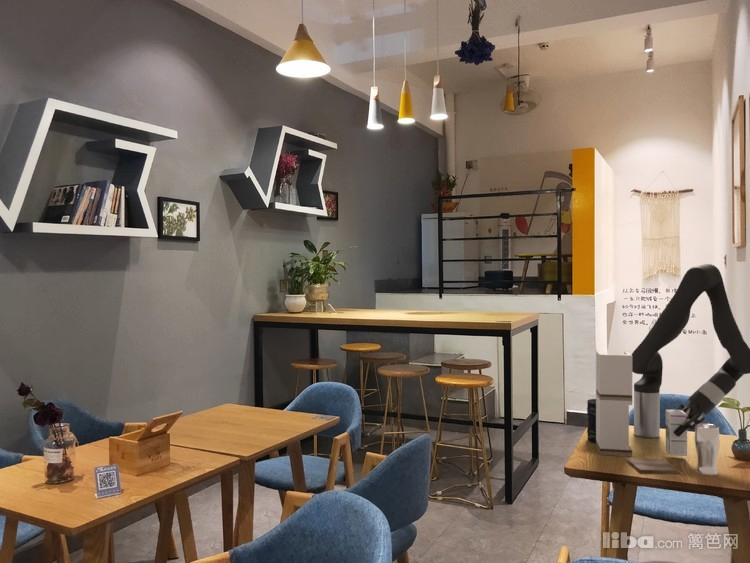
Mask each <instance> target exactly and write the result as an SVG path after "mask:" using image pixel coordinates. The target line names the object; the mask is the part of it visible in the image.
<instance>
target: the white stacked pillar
mask: <svg viewBox="0 0 750 563" xmlns="http://www.w3.org/2000/svg"><path fill="white" fill-rule="evenodd" d="M631 354H632V353H630V352H628V351H624V352H623V354H606V353H602V352H601V351H600V350H596V351H595V359H596V360H595V399H596V443H595V446H596V448H597V450H598V453H599V455H604V456H605V455H606V456H607V455H608V456H623V457H633V449H632V448H631V446H630V435H629V434H630V418H629V417H630V406H633V372H632V355H631Z"/></svg>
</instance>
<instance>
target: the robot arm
mask: <svg viewBox="0 0 750 563" xmlns="http://www.w3.org/2000/svg"><path fill="white" fill-rule="evenodd" d="M703 293H706V295H707V298H708V299H709V301H710V302H709V303H710V306H711V316H712V318H711V319H712V325H713V329H714V331H715V334H716V336H717V339H718V341H719V343H720V345H721V346H722V348H723V349H725V350H726V352H727V353H728V355H729V357H728V358H727V360H726V361H725V362H724V363H723V364H722V366H721V367H720V368H719V369H718V371H717V372H715V373H714V374H713V375H712V376H710V378H709V379H708V380H707V381H706V382H704V383H703V384H702V385H701V386H700V387H699V388H698V389H696V391H695V392H693V393H692V394H691V395H690V396H689V398H687V401H688V402H689V403H688V404H687V405H684V404H683V403H681V404H680V405H678V407H677V408H676V409H675V410H682V411H684V412H685V413H686V414H687V417H686V418H685V420H684V421H683V423H682V425H680V426H679V427H678V428H677V429H676V430H675V431H674V432H673V433H674V434H675V435H676V436H678V437H679V436H680V435H681V434H682V433H683V432H684V431H685V430H686V429H687V431H689V430H690V431H692V430H694V429H695V426H696V424H698V423H703V421H704V420H705V419H706V418H705V416H706V415H709V414H710V412H711V411H713V410H714V409H715V408H716V407H717V406H718V404H720V403H721V402H722V401H723V400H724V398H725V397H726V396H727V395H728V394H729V393H730V392H731V391H732V390H733V389H734V388H735V386H736V384H737V382H738V381H739V380H740V379H741V378H742V377H743V376H745V375H747V374H750V346H748V344H747V342H746V341H745V339H744V337H743V335H742V332H741V330H740V328H739V326H738V324H737V322H736V319H735V317H734V314H733V311H732V309H731V306H730V302H729V299H728V295H727V291H726V288H725V283H724V279H723V276H722V274H721V271H720V269H719V268H718V267H717V266H716V265H714V264H711V263H710V264H709V263H703V264H700V265H696V266H692V267H690V268H689V269H688V270H687V271H686V272H685V273H684V275H683V277H682V280H681V281H680V283H679V285H678V287H677V289H676V291H675V293H674V294H673V296H672V297H671V299H670V300H669V302H668V303H667V305H666V306H665V308H664V309H662V311H661V313H660V314H659V316H658V317H657V319H656V320H655V323H654V324H653V326H652V327H651V328H650V330H649V331H648V333H647V334H646V336H645V337H644V339H643V340H642V341H641V342H640V343H639V344H638V345H637V347H635V349H634V350H633V351H632V353H630V354H631V355H632V373H634V374H636V375H642V376H641V377H640V379H638V380H637V381H636V382H634V384H633V434H634V435H635V436H637V437H640V438H648V439H649V438H651V439H652V438H653V439H654V438H659V437H660V431H661V430H660V425H661V424H660V420H661V419H660V418H661V417H660V416H661V415H660V413H661V412H660V409H661V407H660V405H661V404H660V401H661V397H660V394H661V393H660V391H661V390H660V389H661V387H662V381H663V368H664V367H663V366H664V365H663V364H664V363H663V358H662V355H661V354H660V353H659V351H660V350H661V349H663V348H664V347H665V346H667V345H668V344H670V343H672V342H673V341H674V340H675V339H677V338H678V337H679V336H680V334H682V332H683V330H684V329H685V327H686V326H687V324H688V323H689V320H690V318H691V317H690V315H691V309H692V307H693V304H695V302H696V301H697V300H698V298H699V297H700V296H701V295H702V294H703ZM664 428H665V429H666V425H664Z"/></svg>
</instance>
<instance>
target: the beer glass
mask: <svg viewBox="0 0 750 563" xmlns="http://www.w3.org/2000/svg"><path fill="white" fill-rule="evenodd" d="M694 429H695V430H694V445H695V450H696V456H697V465H696V470H695V471H696V473H698V474H699V475H703V476H711V477H712V476H713V477H715V476H718V475H719V474H718V473H719V471H718V468H717V466H718V465H717V459H718V455H719V454H718V453H719V450H720V426H719V425H716V424H713V423H705V422H704V423H703V422H701V423H698V424H696V426H695V428H694Z"/></svg>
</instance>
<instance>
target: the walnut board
mask: <svg viewBox="0 0 750 563" xmlns="http://www.w3.org/2000/svg"><path fill="white" fill-rule="evenodd" d="M626 463H627V464H629V466H631V467H633V468H634V469H635V470H636V471H637V472H638V473H639V474H678V473H679V474H680V470H679V469H678V468H676V467H675V466H674V465H672V464H671V463H669V462H668V461H666V459H664V458H626Z"/></svg>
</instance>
